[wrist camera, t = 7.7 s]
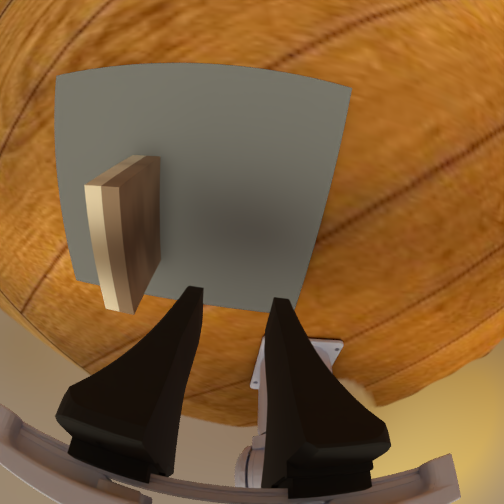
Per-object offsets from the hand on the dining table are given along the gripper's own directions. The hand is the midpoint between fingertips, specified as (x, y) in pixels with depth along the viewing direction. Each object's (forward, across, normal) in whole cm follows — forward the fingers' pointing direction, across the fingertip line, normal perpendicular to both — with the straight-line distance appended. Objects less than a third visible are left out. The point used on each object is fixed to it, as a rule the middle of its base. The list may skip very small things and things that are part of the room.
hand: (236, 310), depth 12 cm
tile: (+8, +7, 0) cm, 11 cm away
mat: (+9, +5, -1) cm, 10 cm away
